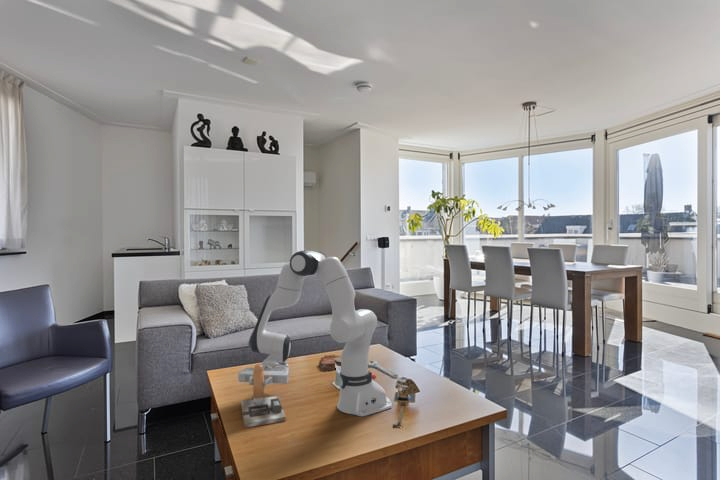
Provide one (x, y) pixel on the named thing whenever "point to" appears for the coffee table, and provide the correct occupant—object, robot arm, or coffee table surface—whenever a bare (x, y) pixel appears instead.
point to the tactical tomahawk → (400, 416)
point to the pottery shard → (327, 362)
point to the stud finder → (275, 405)
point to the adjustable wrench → (382, 368)
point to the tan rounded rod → (258, 384)
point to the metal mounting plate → (260, 413)
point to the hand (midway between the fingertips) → (257, 383)
